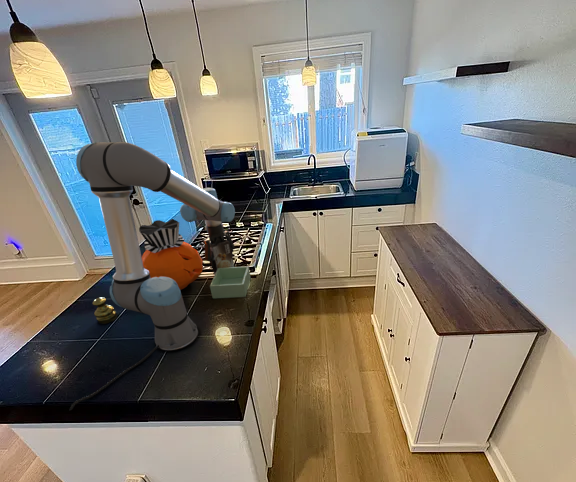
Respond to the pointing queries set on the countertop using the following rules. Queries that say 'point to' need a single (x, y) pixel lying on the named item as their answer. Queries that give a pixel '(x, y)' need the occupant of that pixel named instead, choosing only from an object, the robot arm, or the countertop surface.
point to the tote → (230, 282)
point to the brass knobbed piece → (104, 311)
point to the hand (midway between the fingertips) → (223, 267)
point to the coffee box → (222, 255)
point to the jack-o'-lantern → (170, 253)
